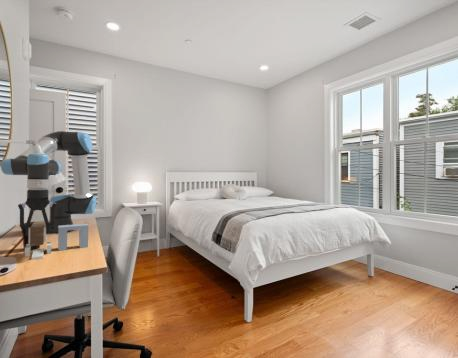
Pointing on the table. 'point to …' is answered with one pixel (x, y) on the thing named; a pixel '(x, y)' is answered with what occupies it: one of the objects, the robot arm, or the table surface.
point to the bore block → (63, 229)
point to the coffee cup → (25, 238)
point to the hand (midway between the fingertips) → (37, 241)
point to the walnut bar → (37, 233)
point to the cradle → (37, 251)
